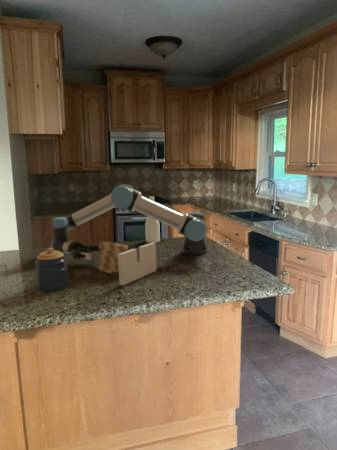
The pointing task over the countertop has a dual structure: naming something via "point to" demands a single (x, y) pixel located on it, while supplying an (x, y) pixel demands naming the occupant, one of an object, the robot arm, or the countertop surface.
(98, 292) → the countertop surface
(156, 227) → the white rounded block
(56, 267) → the canister
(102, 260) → the brown angled piece
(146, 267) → the cream board
